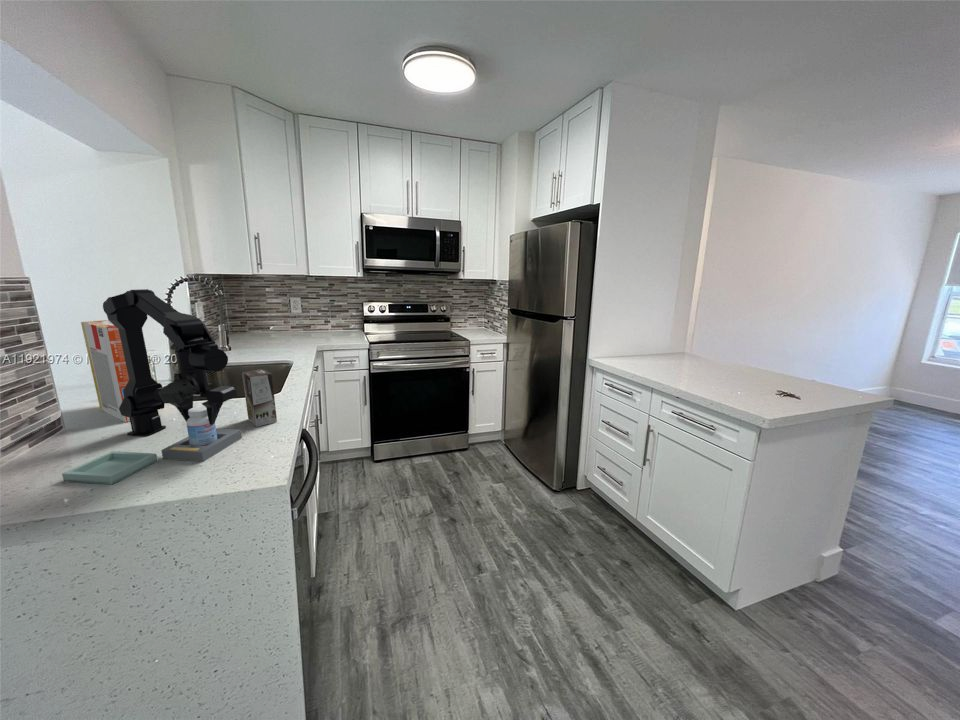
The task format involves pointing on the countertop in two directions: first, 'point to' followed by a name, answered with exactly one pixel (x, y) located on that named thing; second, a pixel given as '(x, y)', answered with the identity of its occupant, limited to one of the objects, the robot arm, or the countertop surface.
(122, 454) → the tray
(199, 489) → the countertop surface
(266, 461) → the countertop surface
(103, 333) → the orange cereal box
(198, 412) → the pill bottle
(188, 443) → the socket block
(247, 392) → the coffee box
